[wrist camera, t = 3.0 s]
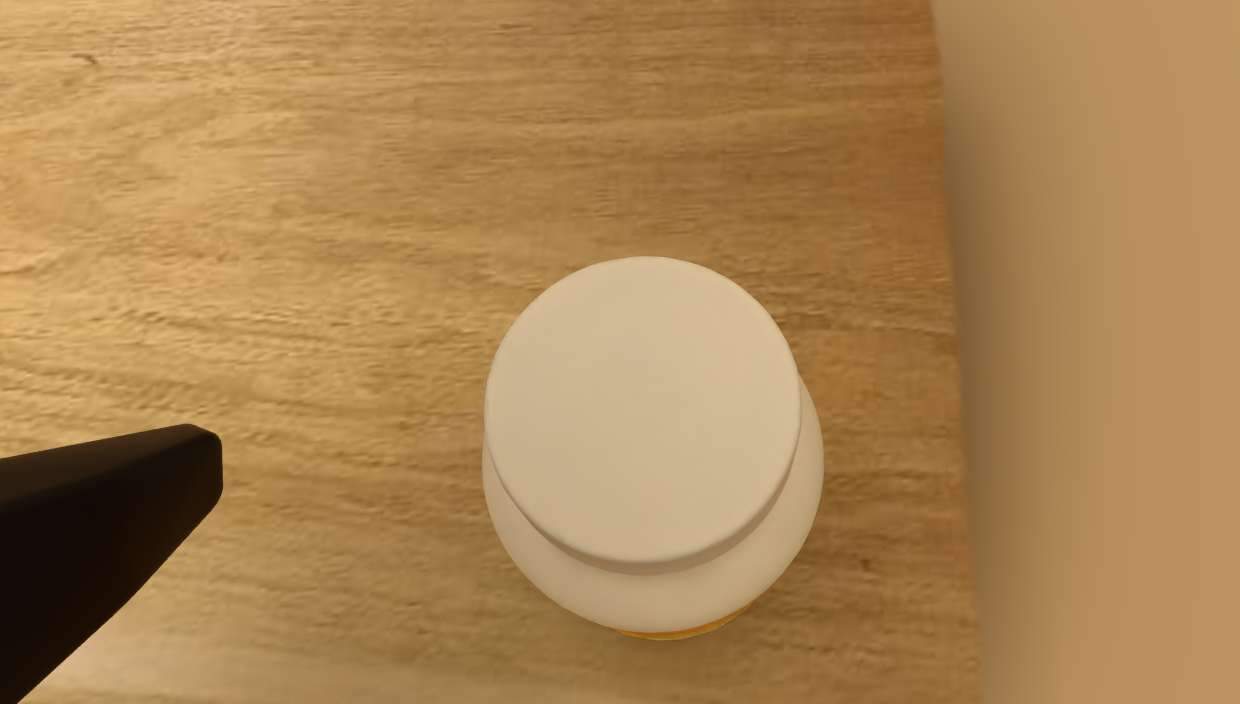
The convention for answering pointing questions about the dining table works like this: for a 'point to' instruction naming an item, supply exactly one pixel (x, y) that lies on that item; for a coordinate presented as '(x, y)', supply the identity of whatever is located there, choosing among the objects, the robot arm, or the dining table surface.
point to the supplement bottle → (650, 447)
